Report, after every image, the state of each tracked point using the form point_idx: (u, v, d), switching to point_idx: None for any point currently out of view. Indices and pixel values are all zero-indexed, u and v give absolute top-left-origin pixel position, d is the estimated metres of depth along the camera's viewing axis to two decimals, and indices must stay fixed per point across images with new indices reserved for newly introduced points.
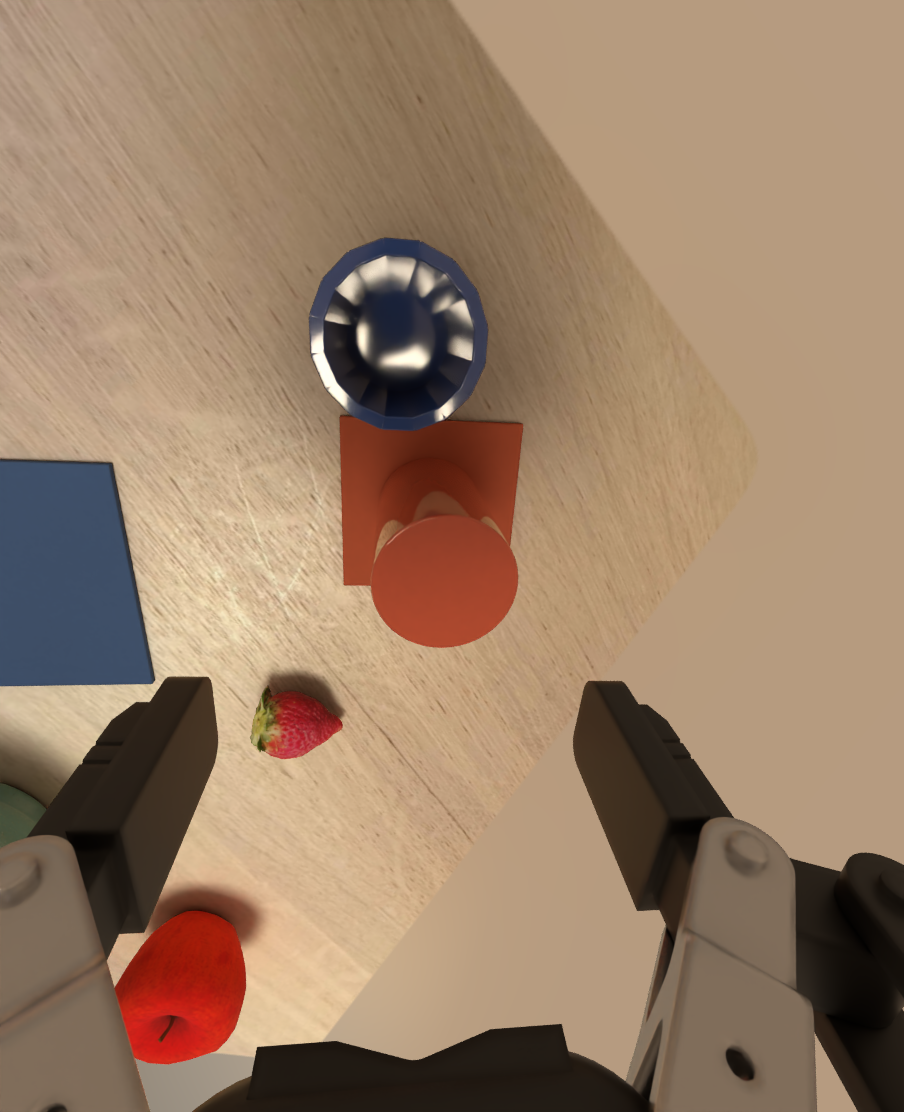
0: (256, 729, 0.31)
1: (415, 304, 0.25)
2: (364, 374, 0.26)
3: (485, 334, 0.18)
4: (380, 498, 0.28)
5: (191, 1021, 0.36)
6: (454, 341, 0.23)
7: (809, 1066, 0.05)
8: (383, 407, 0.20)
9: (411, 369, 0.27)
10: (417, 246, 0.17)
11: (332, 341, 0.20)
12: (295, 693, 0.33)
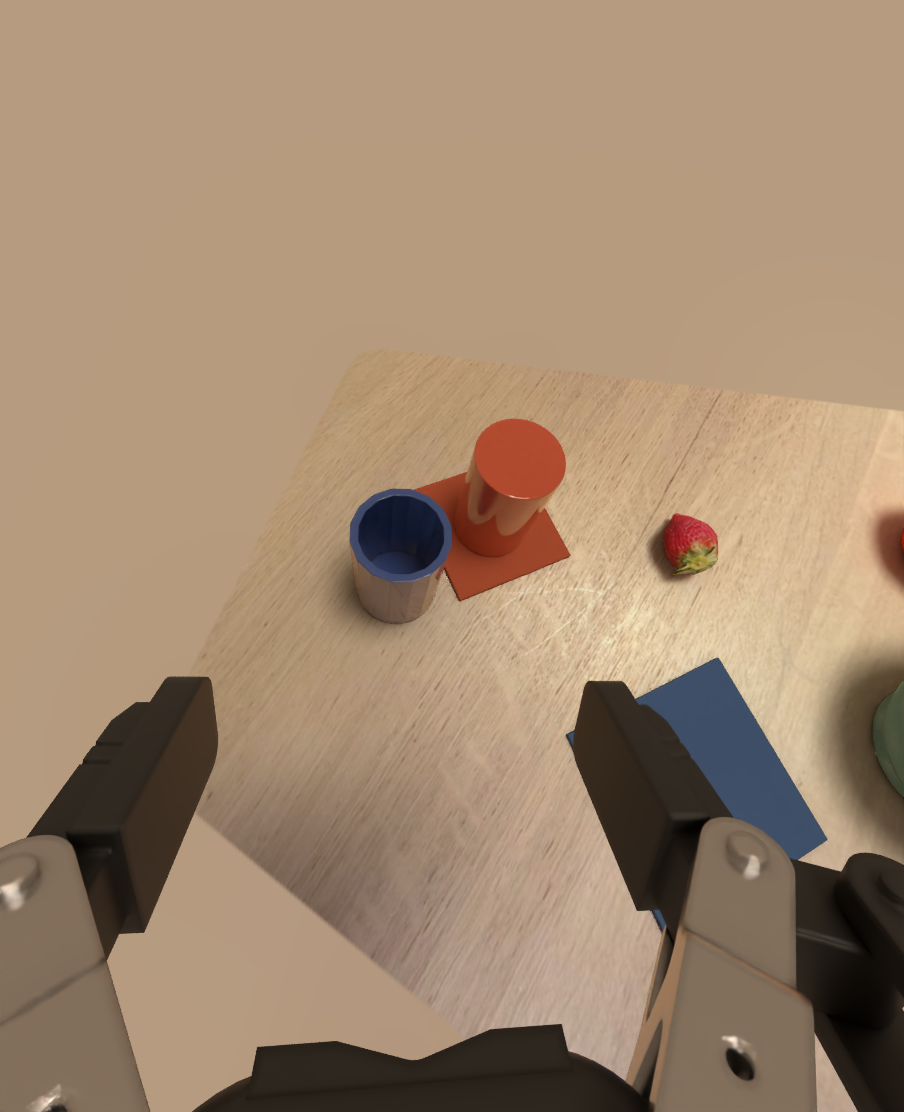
0: (704, 561, 0.40)
1: None
2: None
3: (377, 494, 0.31)
4: (497, 548, 0.40)
5: None
6: (384, 537, 0.37)
7: (808, 1064, 0.05)
8: (439, 541, 0.33)
9: (410, 567, 0.40)
10: (352, 542, 0.30)
11: None
12: (666, 552, 0.42)
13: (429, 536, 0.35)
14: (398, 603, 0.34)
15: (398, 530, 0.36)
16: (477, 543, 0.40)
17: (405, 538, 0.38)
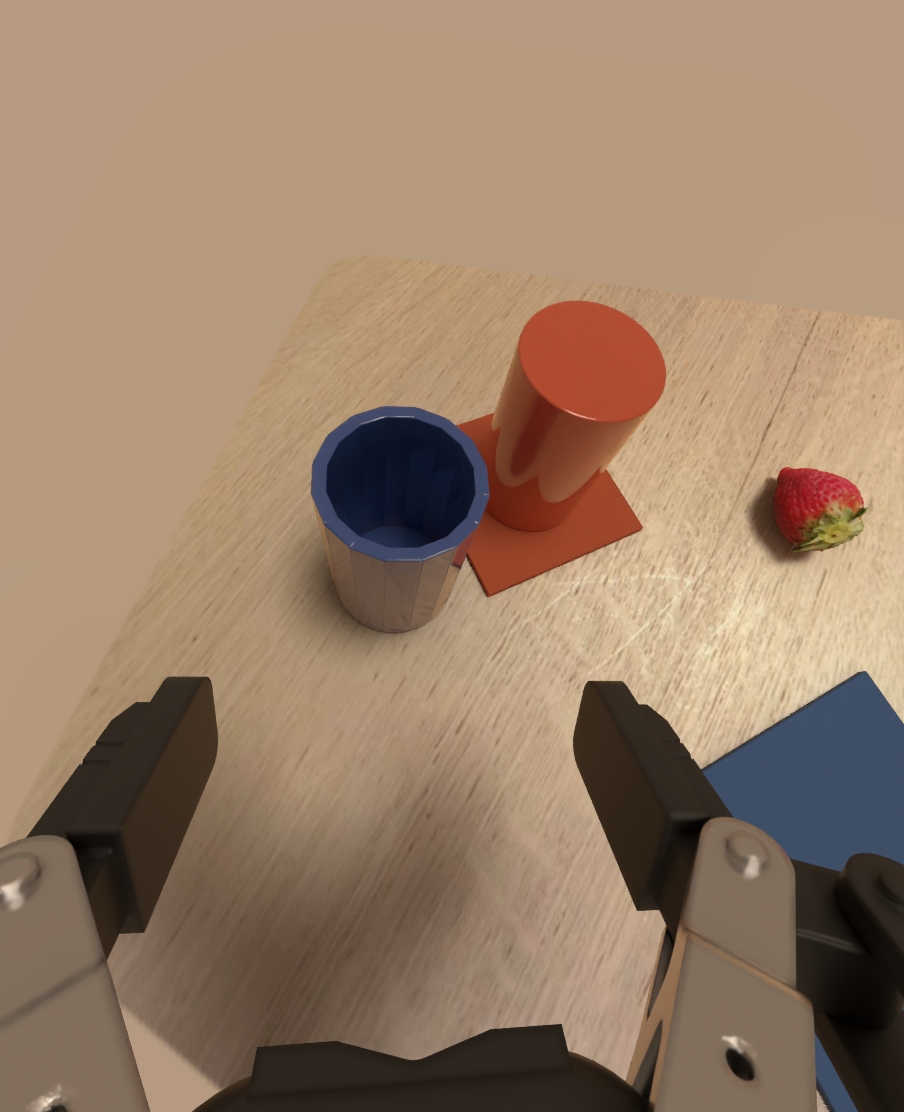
0: (844, 531, 0.27)
1: None
2: None
3: (359, 415, 0.18)
4: (543, 517, 0.27)
5: None
6: (373, 499, 0.24)
7: (809, 1065, 0.05)
8: (464, 497, 0.20)
9: (414, 548, 0.27)
10: (316, 494, 0.17)
11: None
12: (780, 520, 0.29)
13: (445, 493, 0.22)
14: (398, 601, 0.21)
15: (395, 488, 0.23)
16: (513, 510, 0.27)
17: (406, 502, 0.25)
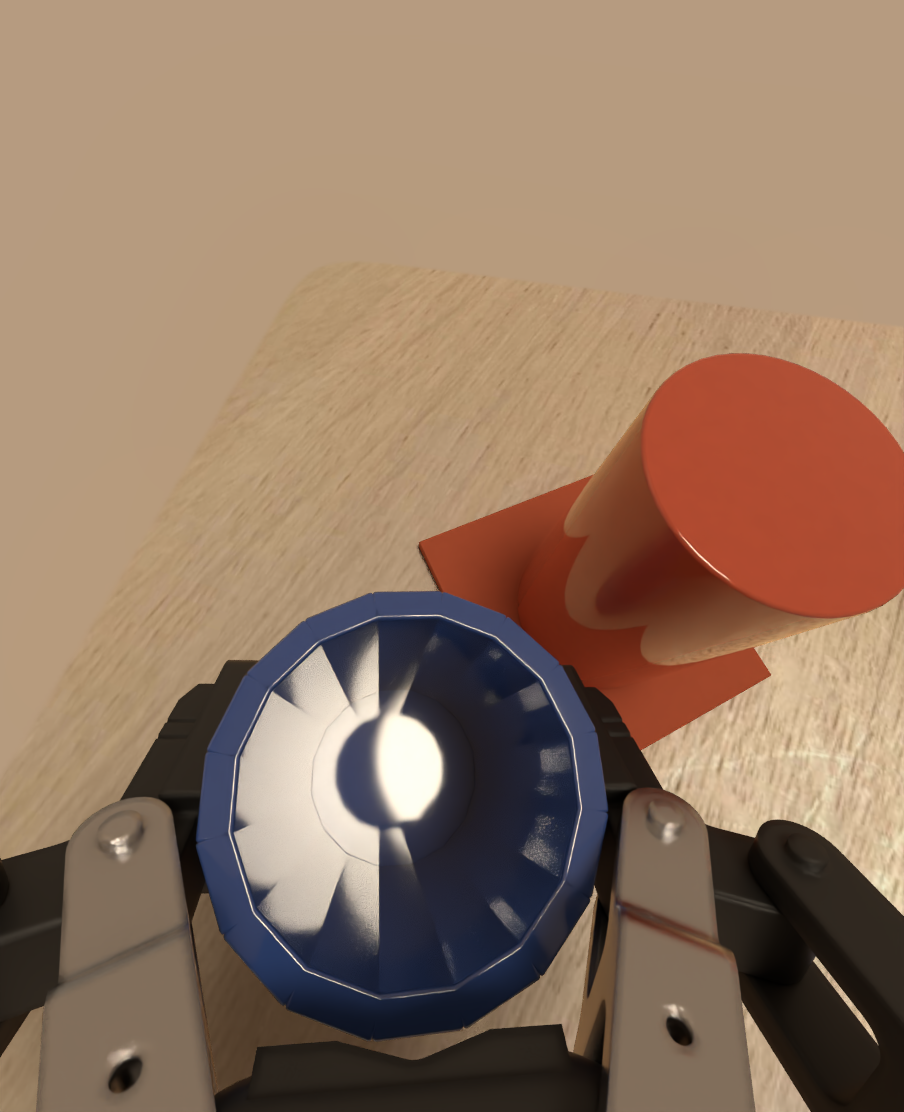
0: None
1: (336, 770, 0.16)
2: (469, 797, 0.16)
3: (318, 618, 0.08)
4: (632, 682, 0.17)
5: None
6: (359, 684, 0.14)
7: (737, 1015, 0.05)
8: (533, 747, 0.10)
9: (426, 730, 0.17)
10: (208, 844, 0.07)
11: (470, 910, 0.09)
12: None
13: (487, 701, 0.12)
14: None
15: (397, 670, 0.13)
16: (584, 671, 0.17)
17: (415, 678, 0.15)
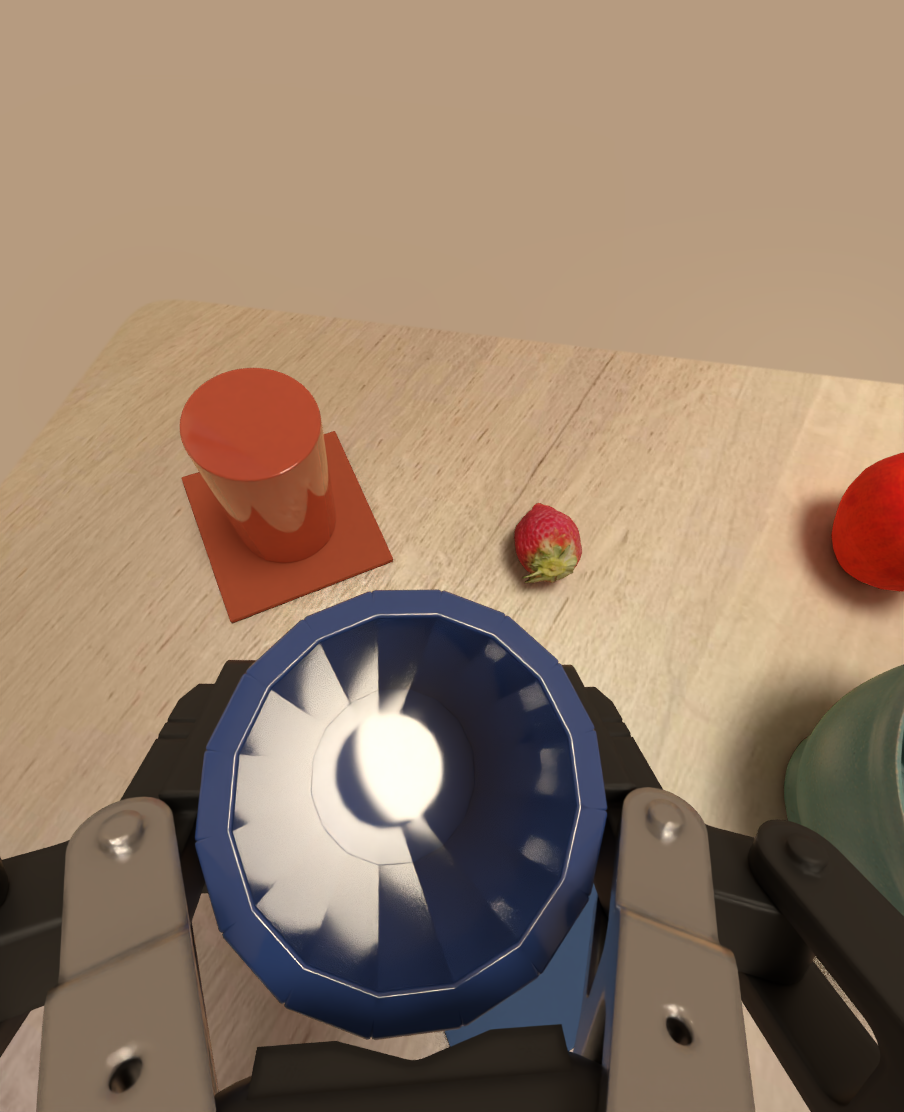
0: (558, 565, 0.30)
1: (335, 769, 0.16)
2: (468, 796, 0.16)
3: (317, 616, 0.08)
4: (279, 551, 0.29)
5: None
6: (358, 683, 0.14)
7: (737, 1016, 0.05)
8: (533, 746, 0.10)
9: (426, 729, 0.17)
10: (207, 843, 0.07)
11: (470, 908, 0.09)
12: None
13: (487, 700, 0.12)
14: None
15: (396, 669, 0.13)
16: (251, 545, 0.29)
17: (414, 677, 0.15)
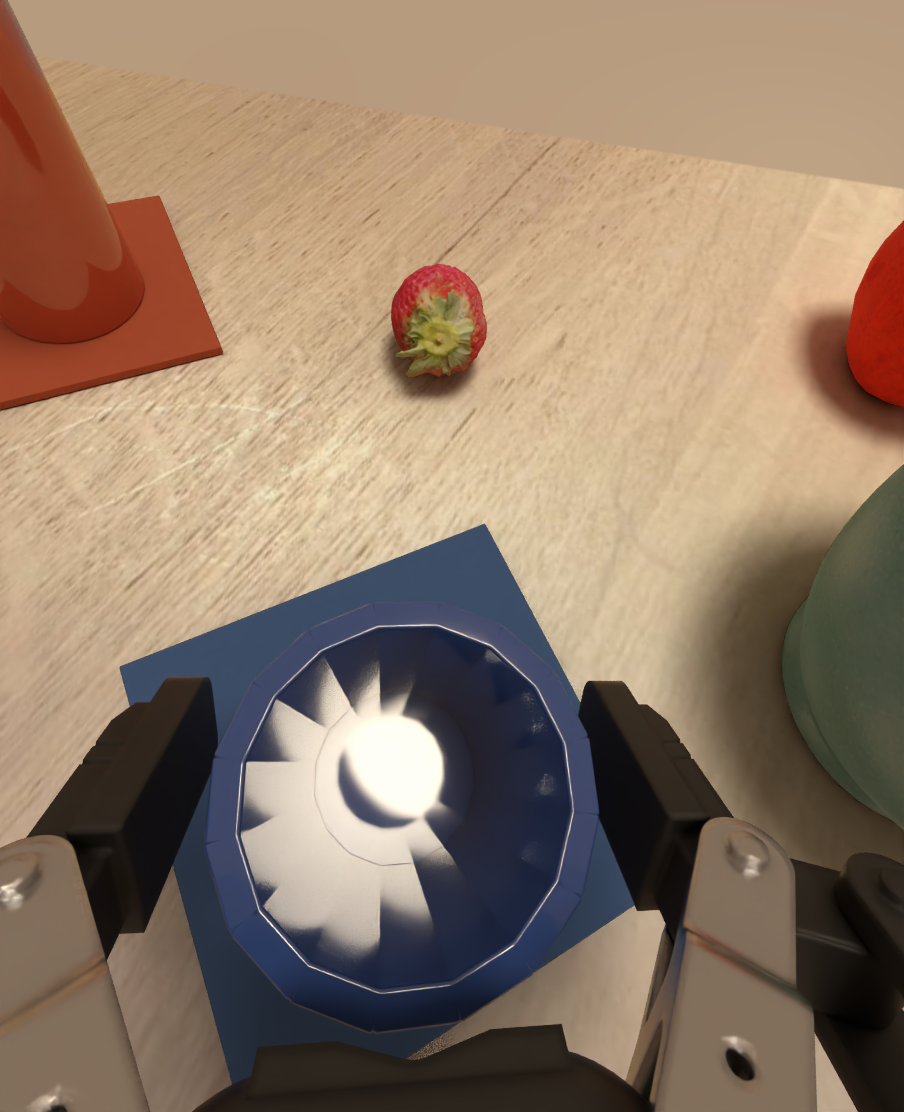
0: (446, 333, 0.21)
1: (338, 771, 0.16)
2: (468, 798, 0.17)
3: (321, 628, 0.09)
4: (27, 307, 0.20)
5: None
6: (360, 688, 0.14)
7: (809, 1066, 0.05)
8: (529, 751, 0.10)
9: (427, 732, 0.17)
10: (216, 846, 0.07)
11: (468, 908, 0.10)
12: None
13: (485, 706, 0.12)
14: None
15: (397, 675, 0.14)
16: None
17: (415, 682, 0.15)
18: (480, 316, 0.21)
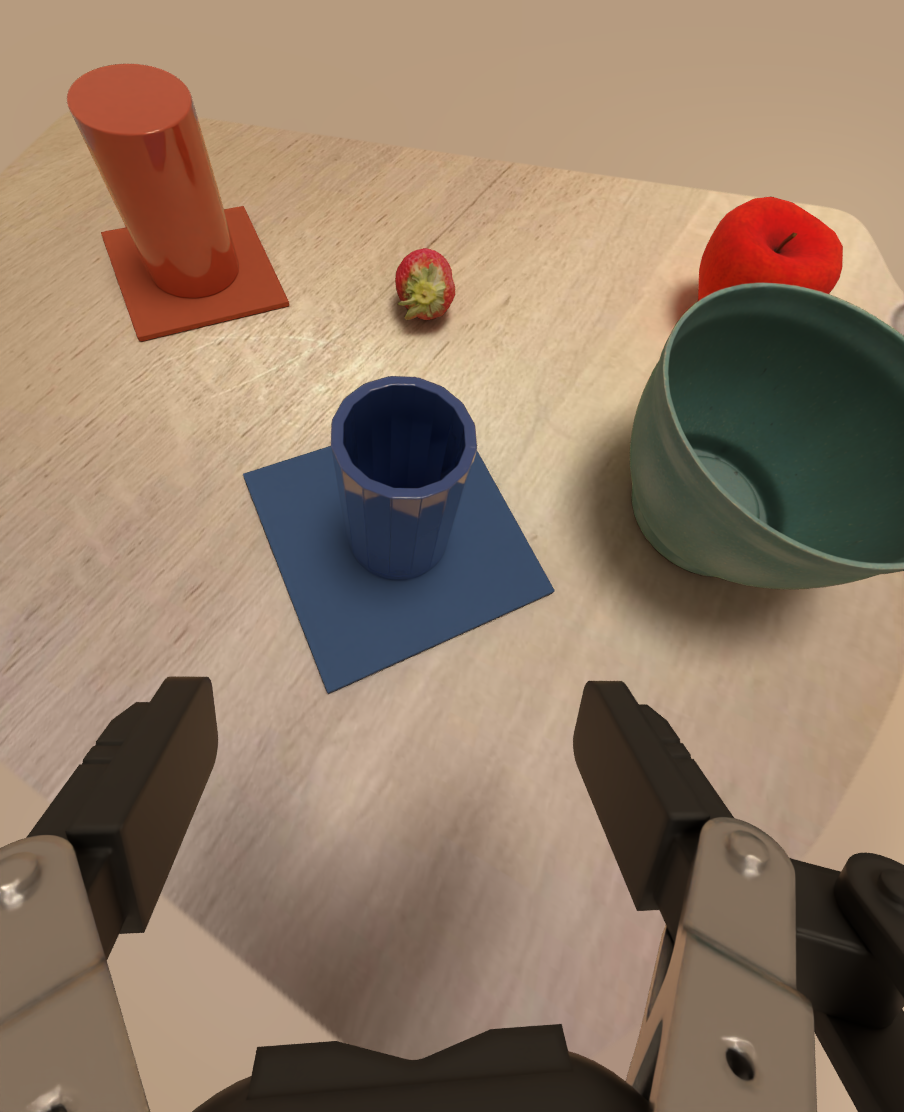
0: (428, 290, 0.34)
1: None
2: None
3: (369, 383, 0.22)
4: (179, 274, 0.33)
5: (761, 224, 0.35)
6: (380, 462, 0.28)
7: (809, 1066, 0.05)
8: (457, 454, 0.24)
9: None
10: (335, 445, 0.21)
11: None
12: (398, 294, 0.36)
13: (442, 454, 0.26)
14: (402, 542, 0.25)
15: (399, 451, 0.27)
16: (155, 269, 0.33)
17: (409, 465, 0.28)
18: (450, 280, 0.35)
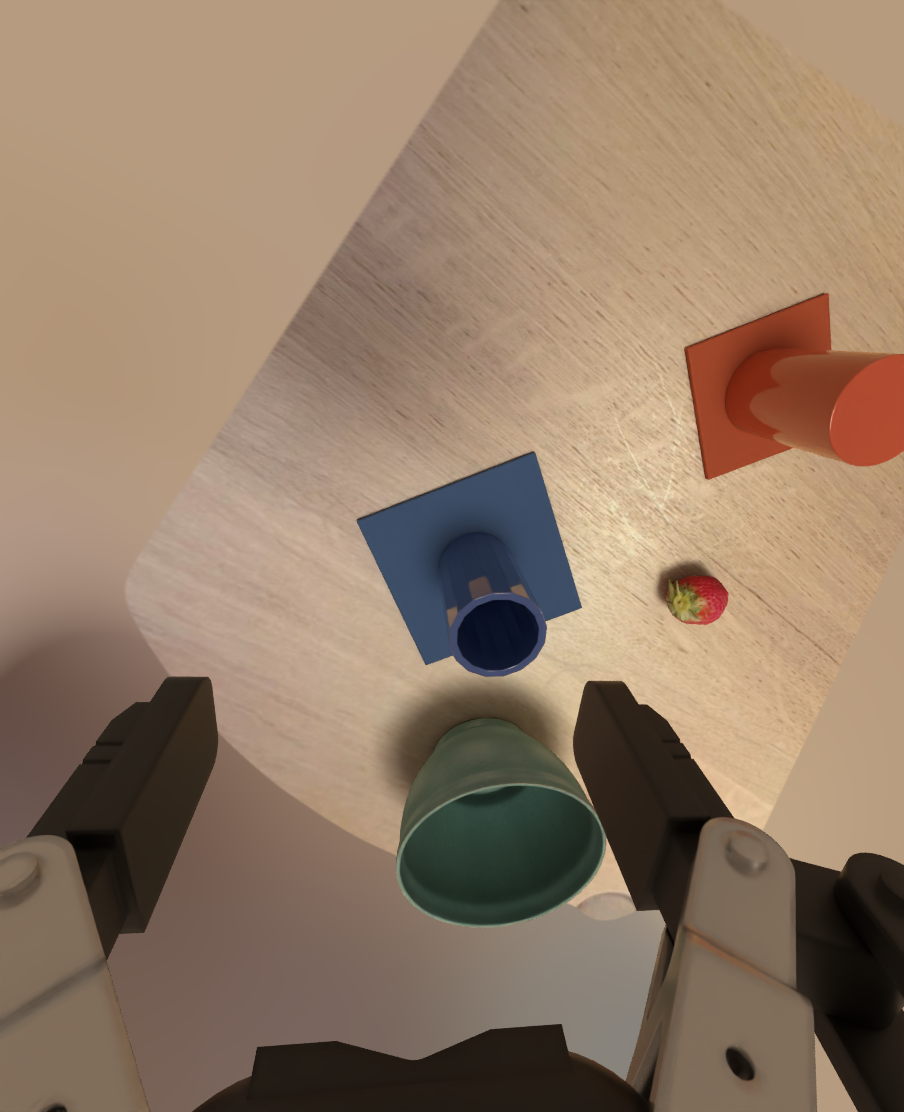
0: (682, 607, 0.41)
1: None
2: None
3: (541, 614, 0.31)
4: (741, 394, 0.35)
5: None
6: None
7: (808, 1065, 0.05)
8: (495, 651, 0.35)
9: None
10: (491, 595, 0.31)
11: None
12: (693, 576, 0.42)
13: (507, 631, 0.36)
14: (443, 601, 0.35)
15: None
16: (752, 371, 0.35)
17: None
18: (690, 623, 0.41)
